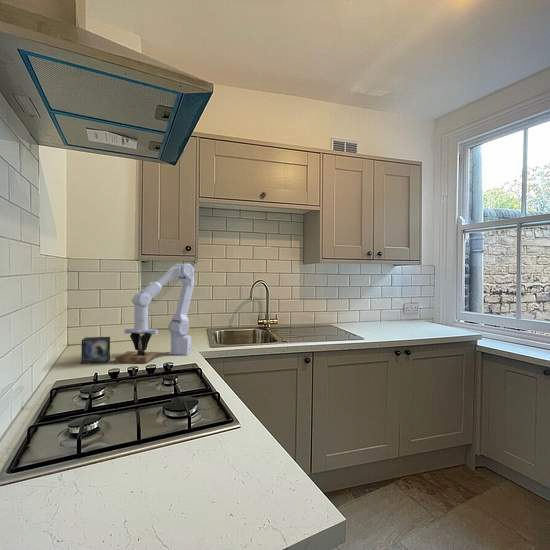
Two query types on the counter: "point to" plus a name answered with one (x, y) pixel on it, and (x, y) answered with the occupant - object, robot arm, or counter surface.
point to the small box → (95, 350)
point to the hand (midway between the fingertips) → (140, 349)
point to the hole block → (135, 357)
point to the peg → (140, 347)
